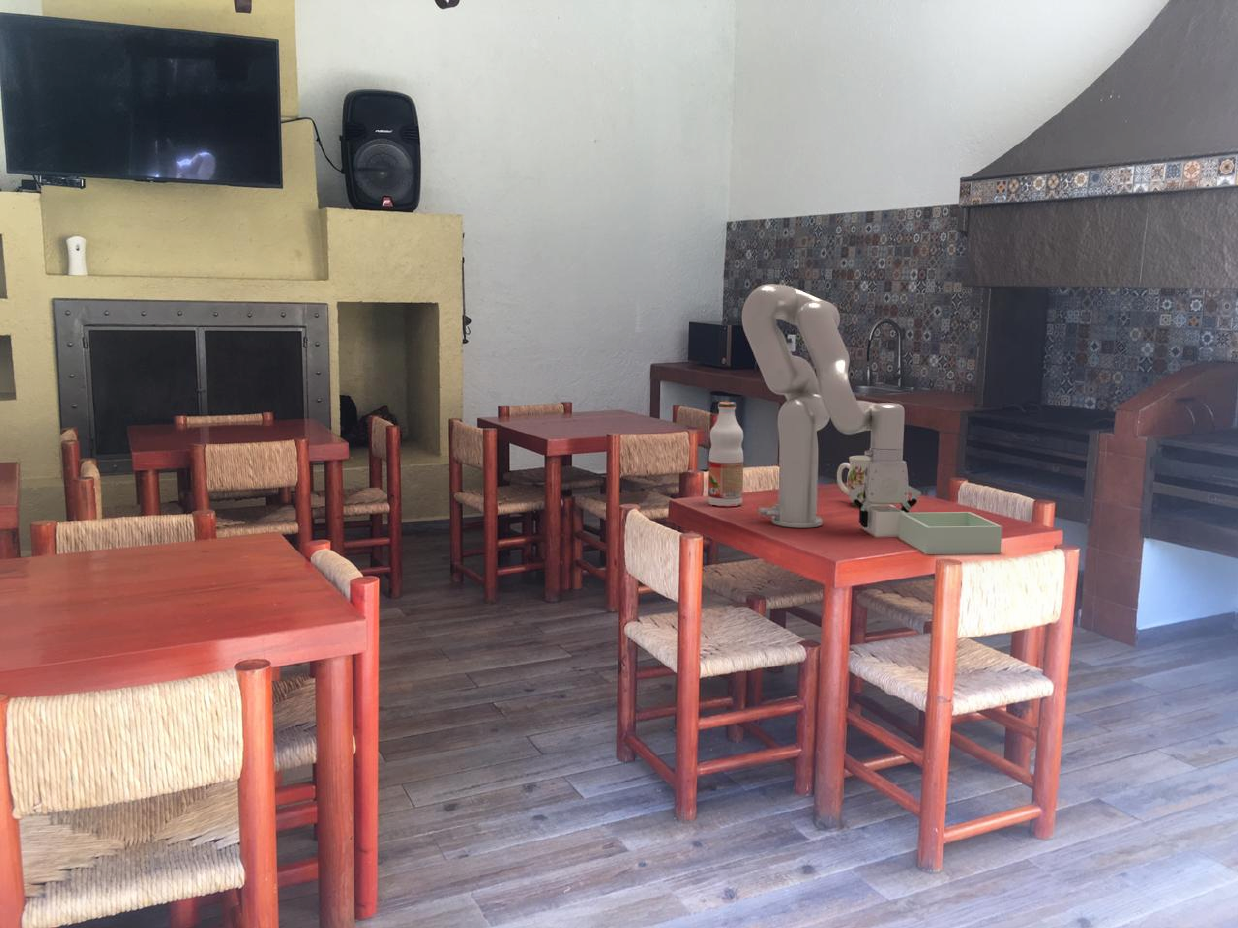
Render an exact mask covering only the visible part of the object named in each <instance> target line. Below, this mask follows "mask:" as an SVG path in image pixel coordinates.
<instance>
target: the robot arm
mask: <svg viewBox="0 0 1238 928" xmlns="http://www.w3.org/2000/svg"><path fill="white" fill-rule="evenodd" d="M839 312H840V311H839V310H838V308H837V307H836V306H835V305H833V304H832V303H831V302H829V301H826V300H824V299H822V298H818V297H816V296H813V295H812V294H809V293H806V292H804V291H803V290H800V289H797V288H795V287H792V286H789V285H785V284H776V283H775V284H773V283H771V284H770V283H769V284H762V285H760V286H758V287H756V288H755V289H754V290H752V291H751V292H750V294H749V295H748V297H746V299H745V302H744V304H743V307H742V310H741V325H742V328H743V332H744V334H745V337H746V340H747V341H748V343H749V346H750V348H751V351H752V352H753V356H754V358H755V360H756V363H757V365H758V368H759V369H760V372H761V374H762V377H763V379H764V381H765V383H766V385H767V388H768V389H769V391H771V392H772V393H773V394H775V395H778V396H779V395H780V396H781V395H782V396H784V397H785V398H786V401H785V402H784V403H783V404H782V406H781V407H780V409H779V411H778V413H777V414H778V416H777V430H778V439H779V440H778V441H779V444H778V445H779V450H778V451H779V457H778V459H779V461H778V463H779V465H778V467H779V468H778V495H777V500H778V502H777V503H774V506H773V505H772V506H771V507H759V508H758V515H759V516H766V517H771V521H770V522H771V523H772V524H774V525H776V526H781V527H785V528H800V529H802V528H816V527H820V526H822V525H823V524H824V523H823V522H824V521H823V519H822V517H819V516H817V510H818V509H817V508H818V480H819V477H818V476H819V475H818V474H819V442H818V431H821V430H823V429H824V428H825V427H826V426H827V425H828V422H829V421H831V423H832V424H833V426H834V427H835V429H836V430H837V431H838V432H840V433H842V434H843V435H848V436H849V435H850V436H851V435H855V434H858V433H863V432H869V431H870V447H869V449H868V450H864V453H863V454H864V456H868V457H869V458H870V460H868V461H867V464H866V469H865V474H864V480H863V485H861V486H859V487H857V488H855V489H854V490H852V491H850V492H849V494H848V496H849V495H850V496H849V498H850V497H851V499H852V501H851V502H852V503H854V504H855V505H856V506H855V505H854V504H853V505H854V506H855V507H857V509H858V510H859V511H858V524H860V526H861V527H862V526H863V527H867V526H868V511H866V509H867V508H868V507H869V505H870V504H871V503H872V504H881V505H893V504H895V505H896V504H897V505H900V506H901V508H899V509H900V510H902V511H904V512H906V513H910V511H911V510H912V507H913V506H915V505H916V504H917V502H918V500H919V498H920V496H921V494H922V493H921V491H920V490H918V489H916V488H914V487H912V486H910V485H909V474H908V466H907V462H906V461H904V460H903V458H904V457H903V456H904V436H905V434H904V433H905V413H906V412H905V411H906V410H905V407H904V406H903V405H902V404H899V403H889V402H886V403H884V402H883V403H882V402H881V403H875V402H871V401H866V400H857V398H856V396H855V394H854V392H853V389H852V387H851V384H850V380H849V368H850V362H851V361H850V354H849V351H848V350H847V347H846V345H845V343H844V340H843V339H842V338H843V337H842V335H841V334H840V332H839V329H838V328H839V326H840V322H841V315H840V313H839ZM777 320H782V321H785V322H786V323H789V324H792V325H794V326H796V327H797V329H798V331H799V333H800V336H801V339H802V341H803V342H804V345H805V347H806V349H807V352H808V354H809V356H810V358H811V359H810V360H811V361H812V363H813V365H814V369H815V371H816V373H815V371H814V369H813V367H812V365H811V364H810V363H809V362H808V361H807V360H806V359H805V358H803V357H801V356H798V355H793V353H792V351H791V349H790V347H789V345H788V343H787V340H786V338H785V335H784V334H783V332H782V331H781V329H780V327H779V326H778V324H777ZM861 492H862V496H863V500H862V501H861V502H860V501H859V500H858V498H857V495H858V494H859V493H861ZM909 493H911V494H912V495H911V497H910V498H909ZM851 499H850V500H851Z"/></svg>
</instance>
